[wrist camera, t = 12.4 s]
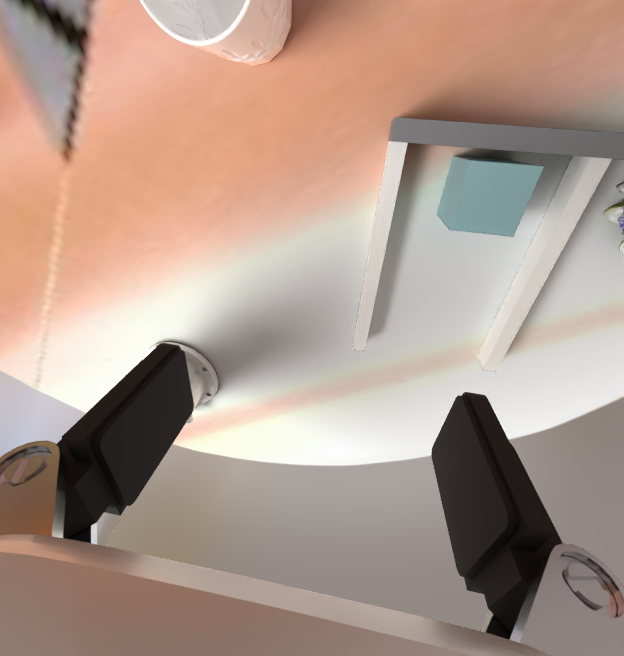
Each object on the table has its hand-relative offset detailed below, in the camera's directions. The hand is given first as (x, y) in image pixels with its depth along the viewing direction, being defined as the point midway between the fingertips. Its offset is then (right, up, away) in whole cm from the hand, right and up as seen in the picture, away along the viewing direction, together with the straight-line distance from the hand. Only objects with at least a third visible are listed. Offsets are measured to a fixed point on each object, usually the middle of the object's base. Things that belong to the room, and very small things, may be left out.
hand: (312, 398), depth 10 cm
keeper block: (+15, +16, +17) cm, 28 cm away
